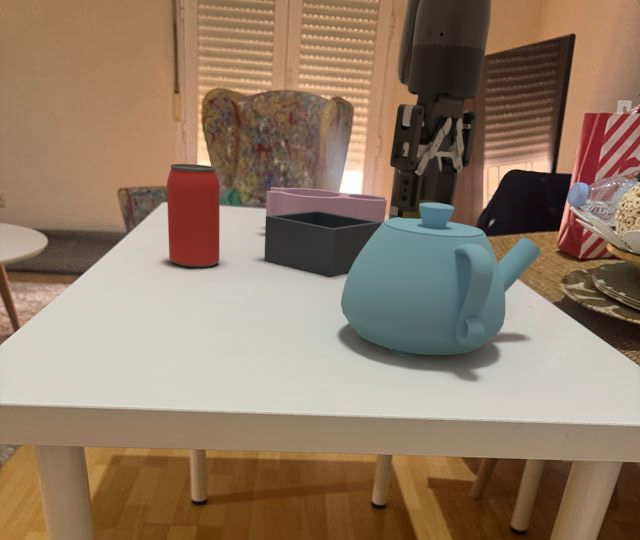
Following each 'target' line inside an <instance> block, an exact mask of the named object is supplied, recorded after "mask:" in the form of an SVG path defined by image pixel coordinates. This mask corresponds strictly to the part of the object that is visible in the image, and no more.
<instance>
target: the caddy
mask: <svg viewBox="0 0 640 540" xmlns="http://www.w3.org/2000/svg"><path fill="white" fill-rule="evenodd" d="M381 225H382V223H381V222H376V221H371V220H365V219H360V218H354V217H349V216H343V215H338V214H332V213H327V212H321V211H309V212H300V213H290V214H281V215H272V216H266V215H265V229H264V231H265V232H264V233H265V234H264V259H263V260H264V261H265V262H270V263H273V264H277V265H282V266H286V267H290V268H294V269H298V270H301V271H305V272H310V273H314V274H319V275H322V276H326V277H334V276H338V275H341V274H347V273H349V271H350V269H351V267H352V265H353V263H354V261H355V260H356V258H357V256H358V255H359V253H360V252H361V250H362V249H363V248H364V246H365V245H366V243H367V242H368V241H369V239H370V238H371V237H372V235H373V234H374V233H375V231H376V230H377V229H378V228H379V227H380V226H381Z"/></svg>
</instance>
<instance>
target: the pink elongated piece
mask: <svg viewBox="0 0 640 540" xmlns="http://www.w3.org/2000/svg"><path fill="white" fill-rule="evenodd" d="M387 202H388V201H387V199H386V197H385V196H380V195H374V194H363V193H348V192H347V193H346V192H340V191H333V190H327V189H319V188H305V187H277V186H276V187H275V186H270V190H268V191H266V202H265V203H266V204H265V217H266V216H272V215H281V214H290V213H300V212H309V211H321V212H327V213H332V214H338V215H343V216H349V217H354V218H360V219H365V220H371V221H376V222H381V223H384V222H385V221H386V220H385V219H386V210H387V204H388V203H387Z"/></svg>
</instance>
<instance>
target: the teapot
mask: <svg viewBox="0 0 640 540" xmlns="http://www.w3.org/2000/svg"><path fill="white" fill-rule="evenodd" d="M419 210H420V215H421V219H411V218H399V217H396V218H391V219H389V218H388V219H389V220H388V219H387V220H384V223H382V225H381V226H380V227H379V228H378V229H377V230H376V231H375V233H374V234H373V235H372V237H371V238H370V239H369V241H368V242H367V243H366V245H365V246H364V248H363V249H362V250H361V252H360V253H359V255H358V256H357V258H356V260H355V261H354V263H353V265H352V267H351V269H350V271H349V272H348V274H347V276H346V279H345V282H344V286H343V290H342V293H341V299H340V307H341V311H342V314H343V315H344V317H345V319H346V320H347V322H348V323H349V325H350V327H352V329H353V330H354V331H355V333H356V334H357V335H358V336H359V337H361V338H362V339H364V340H366V341H368V342H370V343H372V344H375V345H378V346H381V347H384V348H387V349H391V350H390V351H391V353H392V354H395V355H397V356H401V357H413V356H417V355H418V354H419V355H431V356H432V355H433V356H449V355H451V356H453V355H461V354H466V353H467V354H468V353H471V352H474V351H476V350H478V349H480V348H481V347H483V345H485V344H487V343H488V342H489V341H491V340H492V339H493V338H495V336H497V334H498V333H500V331H501V329H502V328H503V326H504V324H505V323H504V322H505V319H506V292H507V291H508V290H509V289H510V288H511V287H512V286H513V285H514V284H515V283H516V282H517V280H518V279H520V277H522V275H523V274H525V272H526V271H527V270H528V269H529V268H530V267H531V266H532V265H533V263H534V262H535V261H536V260H537V259H538V258H539V257H540V256H541V255H542V251H541V249H540V248H539V247H538V245H537V244H536V243H534V242H533V241H532V240H530V239H529V238H526V237H521V238H520V239H519V240H518V241H517V242H516V243H515V244H514V246H513V247H511V249H510V250H509V251H508V252H507V253H506V254H505V255H504V256H503V257H502V258H501V259H500V260H499V261H498V260H497V258H496V254H495V251H494V249H493V247H492V244H491V243H490V241H489V238H488V236H487V235H486V233H485V232H484V231H483V230H482V229H481V228H479V227H475V226H472V225H469V224H464V223H460V222H452V221H450V219H451V217H452V215H453V213H454V211H455V207H454V206H453V205H452V206H451V205H447V204H441V203H421V204H419Z"/></svg>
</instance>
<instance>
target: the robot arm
mask: <svg viewBox="0 0 640 540" xmlns="http://www.w3.org/2000/svg"><path fill="white" fill-rule="evenodd" d="M491 16H492V0H407V3H406V9H405V15H404V21H403V25H402V27H403V28H402V32H401V37H400V42H399V50H398V58H397V78H398V80H399V83H400V84H401V86H404V87H407V91H408V93H409V94H410V95H414V96H417V99H416V103H415V104H406V103H400V104H398V107H397V112H396V116H395V117H396V119H395V125H394V133H393V138H392V139H393V140H392V146H391V152H390V153H391V154H390V159H389V160H390V161H389V165H390V167H391V168H394V171H393V176H392V177H393V178H392V186H391V195H390V204H389V209H388V210H389V211H388V219H387V220H389V219H391V218H396V217H399V218H403V212H404V211H405V212H416V211H417V210H418V205H419V200H431V201H436V202H439V203H441V204H447V205H451V206H452V207H453V205H454V199H455V194H456V189H457V188H456V187H457V182H458V174H461V173H462V170H463V168H468V167H469V166H470V163H471V157H472V149H473V142H474V135H475V128H476V121H477V111H475V110H467V109H464V106H465V103H464V102H465V100H473V99H476V98H477V96H478V95H479V93H480V86H481V82H482V81H481V80H482V74H483V67H484V61H485V55H486V49H487V43H488V38H489V32H490V25H491Z"/></svg>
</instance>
